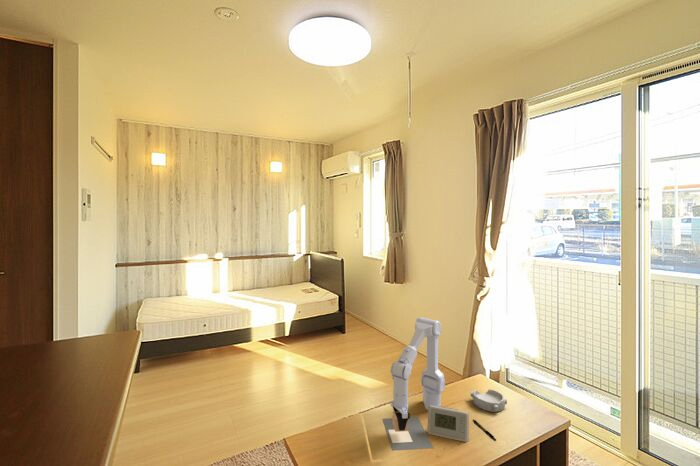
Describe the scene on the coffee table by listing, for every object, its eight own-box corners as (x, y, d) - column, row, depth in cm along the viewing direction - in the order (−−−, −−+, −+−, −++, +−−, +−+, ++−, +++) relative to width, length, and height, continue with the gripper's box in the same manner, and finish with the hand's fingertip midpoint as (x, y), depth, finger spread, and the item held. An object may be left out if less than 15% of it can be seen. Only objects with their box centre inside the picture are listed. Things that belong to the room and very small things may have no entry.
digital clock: (425, 434, 135) (425, 409, 134) (431, 423, 142) (432, 399, 142) (466, 449, 126) (466, 422, 126) (471, 436, 134) (471, 410, 134)
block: (392, 423, 135) (392, 411, 134) (404, 423, 135) (404, 411, 135) (395, 431, 130) (395, 419, 129) (407, 431, 130) (407, 418, 130)
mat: (382, 420, 144) (382, 418, 144) (418, 418, 145) (418, 416, 145) (392, 452, 124) (392, 450, 124) (433, 450, 125) (433, 447, 125)
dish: (466, 401, 160) (466, 391, 160) (487, 394, 166) (487, 385, 166) (490, 417, 147) (491, 406, 147) (512, 409, 153) (512, 399, 153)
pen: (471, 422, 144) (470, 419, 144) (474, 420, 145) (474, 418, 145) (493, 442, 131) (493, 440, 131) (497, 440, 131) (496, 438, 131)
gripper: (387, 383, 139) (386, 415, 139) (394, 402, 124) (394, 437, 125) (403, 383, 139) (403, 414, 140) (413, 401, 125) (412, 436, 125)
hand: (400, 425), depth 132 cm, fingers closed on block, 5 cm apart
